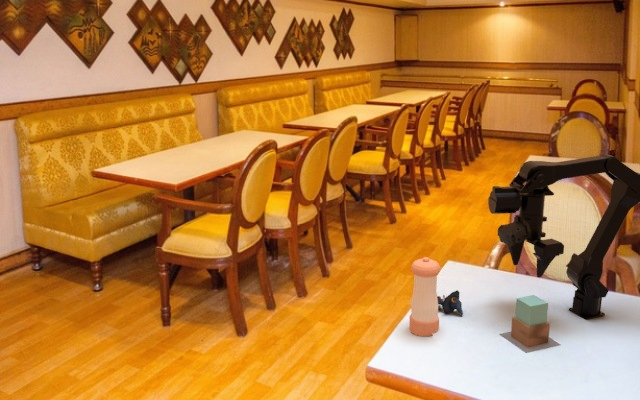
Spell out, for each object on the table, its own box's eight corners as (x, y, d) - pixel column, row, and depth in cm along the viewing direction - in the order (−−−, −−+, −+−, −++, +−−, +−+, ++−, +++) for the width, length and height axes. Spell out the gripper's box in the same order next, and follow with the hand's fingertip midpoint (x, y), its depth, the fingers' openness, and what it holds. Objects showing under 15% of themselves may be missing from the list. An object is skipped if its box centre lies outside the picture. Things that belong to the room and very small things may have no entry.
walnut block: (531, 331, 149) (532, 312, 147) (548, 342, 143) (549, 323, 142) (510, 336, 146) (512, 317, 145) (527, 347, 141) (528, 327, 140)
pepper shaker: (432, 339, 147) (434, 264, 142) (404, 332, 151) (405, 259, 146) (443, 327, 153) (445, 255, 148) (416, 320, 157) (417, 250, 152)
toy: (426, 285, 171) (468, 287, 160) (430, 310, 172) (473, 313, 160) (406, 294, 166) (448, 296, 154) (411, 319, 167) (453, 323, 155)
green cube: (532, 314, 147) (533, 294, 145) (546, 322, 142) (548, 302, 141) (515, 317, 145) (516, 298, 144) (529, 326, 140) (530, 306, 139)
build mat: (532, 329, 151) (532, 326, 151) (560, 347, 142) (561, 344, 142) (498, 336, 148) (498, 334, 148) (525, 355, 139) (525, 352, 139)
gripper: (481, 206, 157) (478, 263, 161) (529, 226, 140) (525, 288, 144) (517, 202, 161) (513, 257, 165) (568, 220, 144) (562, 282, 148)
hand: (527, 270), depth 155 cm, fingers open, 9 cm apart
